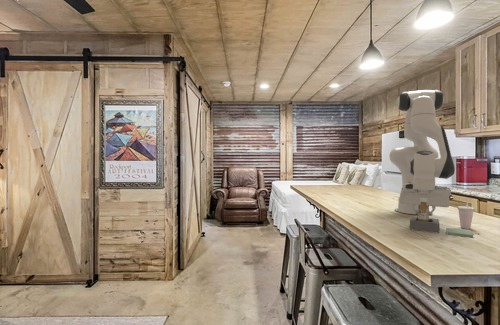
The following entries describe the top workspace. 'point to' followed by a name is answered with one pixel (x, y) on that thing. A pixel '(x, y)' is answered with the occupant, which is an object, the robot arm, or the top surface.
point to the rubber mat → (459, 232)
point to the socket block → (425, 225)
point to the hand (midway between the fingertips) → (423, 214)
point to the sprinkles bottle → (423, 210)
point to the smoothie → (465, 216)
